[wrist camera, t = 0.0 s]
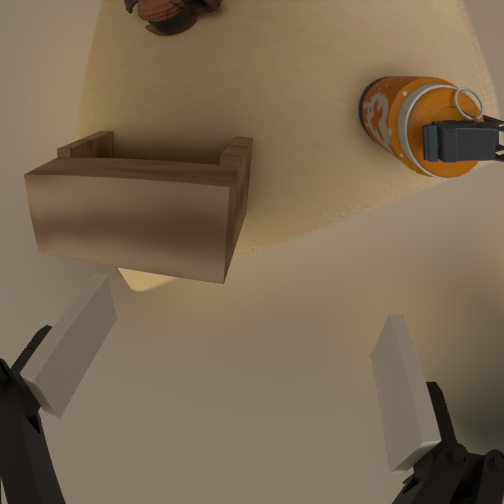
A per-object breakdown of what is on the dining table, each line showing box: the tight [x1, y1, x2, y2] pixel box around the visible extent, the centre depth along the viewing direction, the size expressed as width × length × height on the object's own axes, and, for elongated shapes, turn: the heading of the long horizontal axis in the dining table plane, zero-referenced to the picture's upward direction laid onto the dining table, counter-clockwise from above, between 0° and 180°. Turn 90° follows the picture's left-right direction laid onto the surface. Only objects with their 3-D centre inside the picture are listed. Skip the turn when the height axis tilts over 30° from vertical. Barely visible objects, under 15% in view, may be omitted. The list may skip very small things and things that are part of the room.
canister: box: [359, 77, 504, 179], centre depth 25 cm, size 9×11×20 cm
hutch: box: [24, 132, 253, 284], centre depth 34 cm, size 10×21×16 cm, turn 85°
